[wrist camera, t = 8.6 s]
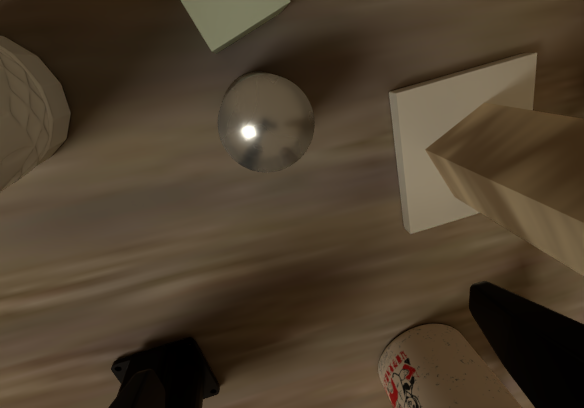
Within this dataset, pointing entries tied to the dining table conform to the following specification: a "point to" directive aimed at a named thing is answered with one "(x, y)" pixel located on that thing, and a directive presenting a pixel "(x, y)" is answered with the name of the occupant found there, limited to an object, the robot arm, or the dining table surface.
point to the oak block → (520, 174)
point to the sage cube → (230, 18)
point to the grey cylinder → (265, 122)
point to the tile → (440, 119)
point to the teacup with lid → (439, 372)
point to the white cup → (28, 112)
